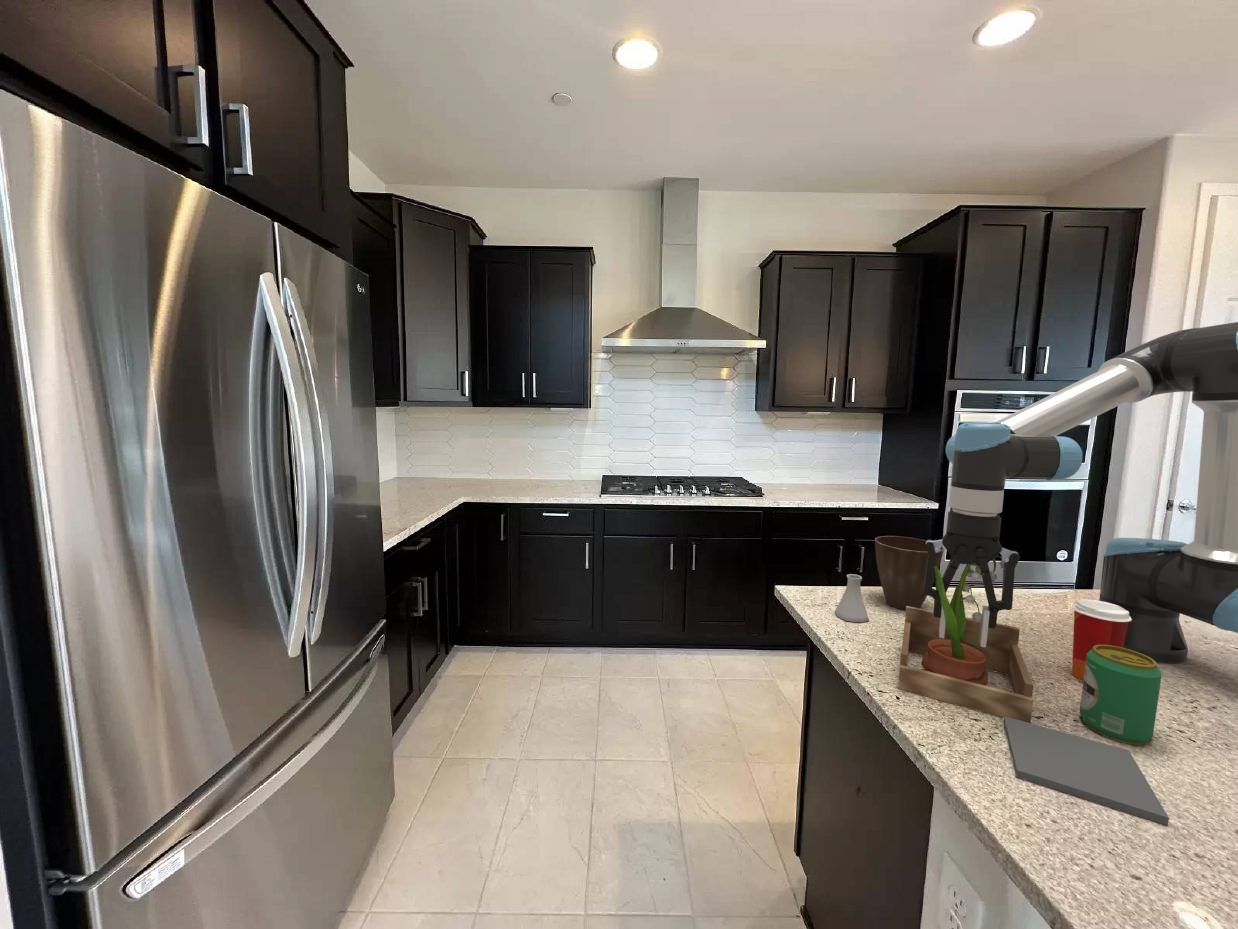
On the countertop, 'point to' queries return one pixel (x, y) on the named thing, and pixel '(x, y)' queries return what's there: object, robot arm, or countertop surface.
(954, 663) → the potted flower
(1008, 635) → the frame
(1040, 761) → the mat
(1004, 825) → the countertop surface
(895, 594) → the plant pot
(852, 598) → the flask
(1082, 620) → the paper cup
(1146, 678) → the beverage can
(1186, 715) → the countertop surface
